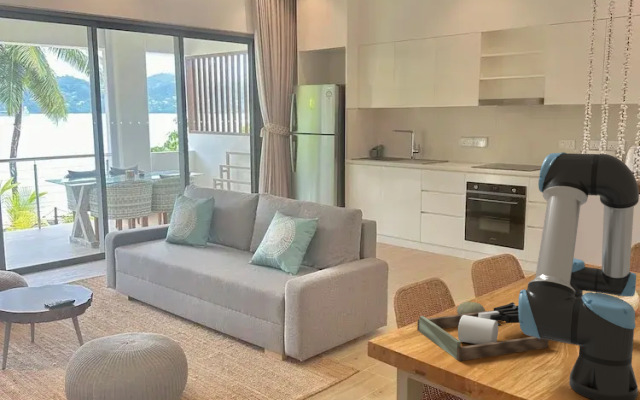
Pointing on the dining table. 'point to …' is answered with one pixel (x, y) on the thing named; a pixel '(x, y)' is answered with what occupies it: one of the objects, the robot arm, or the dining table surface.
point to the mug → (477, 330)
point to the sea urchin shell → (469, 308)
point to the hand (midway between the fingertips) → (479, 317)
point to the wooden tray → (453, 345)
